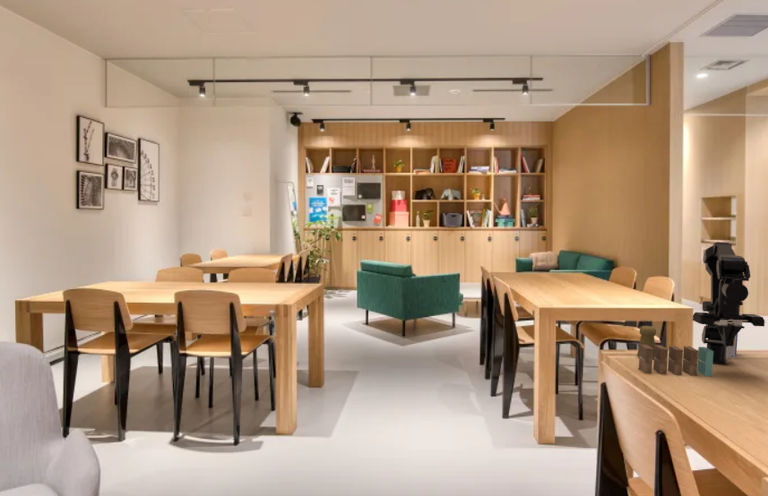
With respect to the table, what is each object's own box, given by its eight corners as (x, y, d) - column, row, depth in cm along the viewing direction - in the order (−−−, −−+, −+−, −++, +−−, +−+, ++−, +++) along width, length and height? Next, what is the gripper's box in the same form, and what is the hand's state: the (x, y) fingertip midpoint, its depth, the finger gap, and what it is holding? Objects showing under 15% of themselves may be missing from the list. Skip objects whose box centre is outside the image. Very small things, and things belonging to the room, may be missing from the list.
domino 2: (659, 369, 169) (661, 345, 169) (666, 374, 164) (668, 349, 164) (653, 369, 170) (654, 345, 169) (659, 374, 165) (661, 349, 164)
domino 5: (703, 371, 168) (705, 347, 168) (711, 376, 163) (713, 351, 163) (696, 371, 168) (698, 346, 168) (704, 376, 163) (706, 350, 163)
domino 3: (674, 370, 169) (675, 345, 168) (681, 375, 164) (683, 350, 163) (667, 369, 169) (669, 345, 169) (674, 374, 164) (676, 349, 164)
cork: (645, 360, 180) (646, 328, 179) (632, 355, 186) (634, 324, 185) (660, 359, 181) (661, 328, 180) (647, 354, 187) (649, 324, 186)
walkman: (727, 352, 191) (729, 320, 190) (736, 354, 190) (738, 321, 189) (724, 357, 185) (726, 323, 184) (733, 358, 184) (736, 325, 183)
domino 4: (689, 370, 169) (690, 346, 168) (696, 375, 164) (698, 350, 163) (682, 370, 169) (683, 346, 168) (689, 375, 164) (691, 350, 163)
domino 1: (645, 368, 170) (646, 344, 169) (651, 373, 165) (653, 348, 164) (638, 368, 170) (639, 344, 169) (644, 373, 165) (646, 348, 164)
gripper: (745, 293, 171) (742, 340, 172) (685, 291, 172) (682, 338, 173) (767, 299, 159) (763, 350, 161) (703, 297, 161) (699, 347, 162)
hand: (726, 346), depth 165 cm, fingers closed
